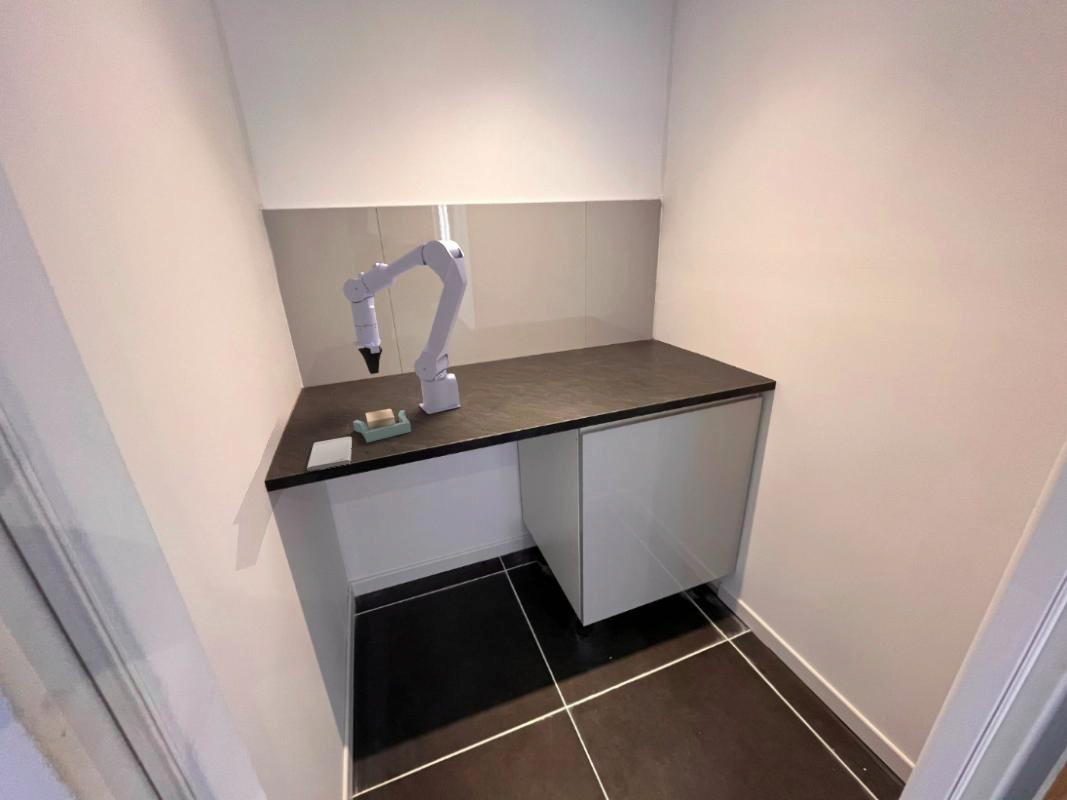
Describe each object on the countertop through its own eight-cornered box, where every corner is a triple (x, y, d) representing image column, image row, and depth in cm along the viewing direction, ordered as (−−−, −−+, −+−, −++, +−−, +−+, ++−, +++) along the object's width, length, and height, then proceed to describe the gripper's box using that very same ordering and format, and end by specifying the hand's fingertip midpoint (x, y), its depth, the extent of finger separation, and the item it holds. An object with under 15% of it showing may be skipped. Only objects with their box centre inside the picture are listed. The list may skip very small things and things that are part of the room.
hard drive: (349, 459, 87) (351, 435, 98) (306, 467, 85) (312, 441, 96) (351, 466, 88) (352, 441, 99) (308, 474, 85) (314, 448, 96)
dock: (405, 418, 110) (404, 409, 109) (416, 430, 103) (414, 421, 102) (354, 430, 104) (352, 420, 103) (361, 444, 96) (359, 434, 96)
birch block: (393, 424, 107) (390, 408, 105) (396, 433, 102) (394, 417, 100) (368, 429, 104) (365, 413, 103) (370, 439, 99) (367, 421, 98)
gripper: (345, 322, 115) (354, 369, 120) (355, 330, 104) (364, 382, 109) (371, 319, 119) (379, 365, 124) (384, 327, 107) (391, 377, 112)
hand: (374, 373), depth 117 cm, fingers closed
